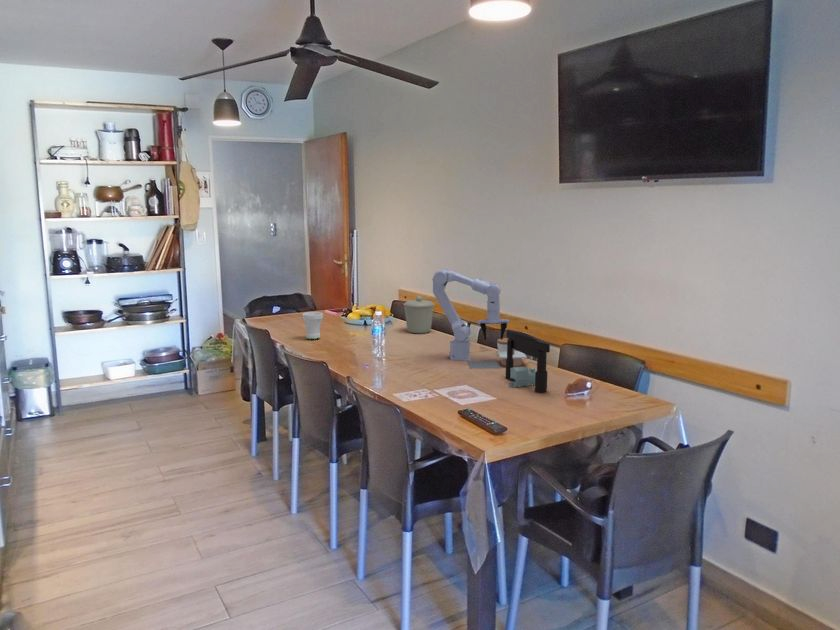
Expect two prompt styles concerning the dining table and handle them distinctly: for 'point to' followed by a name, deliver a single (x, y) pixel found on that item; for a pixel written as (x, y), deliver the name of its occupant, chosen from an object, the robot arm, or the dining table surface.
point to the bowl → (516, 362)
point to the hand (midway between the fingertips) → (493, 339)
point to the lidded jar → (502, 344)
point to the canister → (419, 315)
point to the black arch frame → (531, 348)
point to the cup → (312, 324)
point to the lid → (515, 354)
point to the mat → (483, 364)
